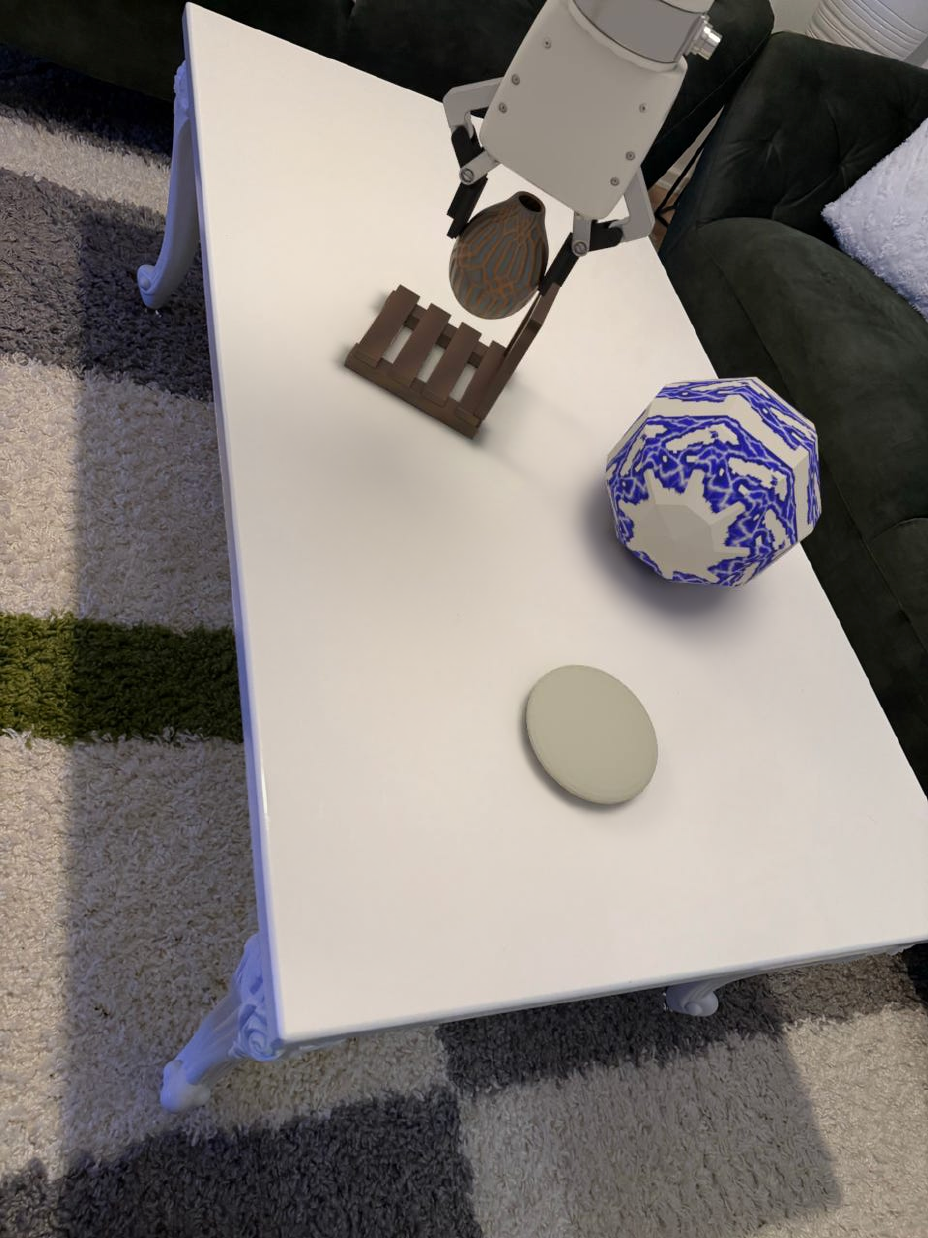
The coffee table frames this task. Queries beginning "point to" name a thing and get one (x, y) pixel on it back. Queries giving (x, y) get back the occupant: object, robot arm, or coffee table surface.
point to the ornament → (715, 481)
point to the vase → (500, 257)
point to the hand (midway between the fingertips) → (501, 256)
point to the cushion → (591, 734)
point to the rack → (443, 358)
